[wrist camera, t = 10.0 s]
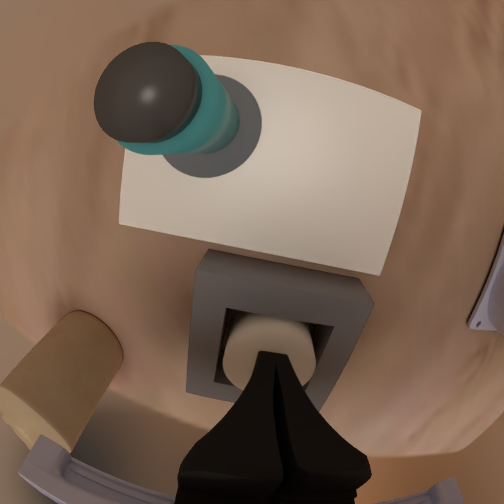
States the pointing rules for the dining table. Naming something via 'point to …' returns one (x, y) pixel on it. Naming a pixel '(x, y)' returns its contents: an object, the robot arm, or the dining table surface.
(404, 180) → the paper
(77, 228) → the dining table surface
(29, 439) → the candle
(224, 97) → the bottle
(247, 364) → the button
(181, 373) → the dining table surface
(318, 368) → the button housing
